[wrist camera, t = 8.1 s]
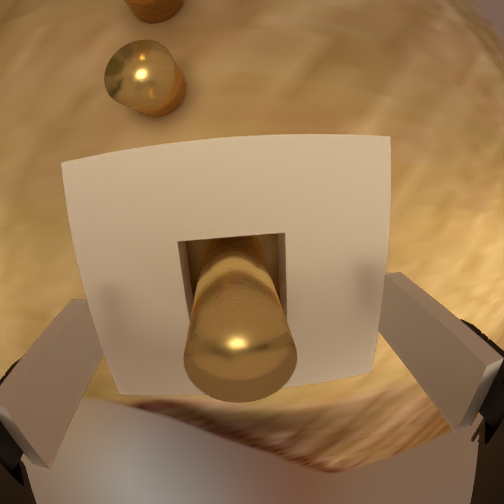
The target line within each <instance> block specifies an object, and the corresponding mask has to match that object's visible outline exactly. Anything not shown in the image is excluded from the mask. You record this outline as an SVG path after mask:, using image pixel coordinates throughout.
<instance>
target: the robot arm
mask: <svg viewBox="0 0 504 504" xmlns="http://www.w3.org/2000/svg"><path fill="white" fill-rule="evenodd" d="M378 331H379V332H380V333H381V335H382V336H383V337H384V339H385V340H386V341H387V342H388V344H389V345H390V346H391V348H392V349H393V350H394V351H395V353H396V354H397V355H398V357H399V358H400V359H401V360H402V362H403V363H404V364H405V366H406V367H407V368H408V370H409V371H410V372H411V374H412V375H413V376H414V378H415V379H416V380H417V382H418V383H419V384H420V386H421V387H422V388H423V390H424V391H425V392H426V394H427V395H428V396H429V398H430V399H431V401H432V402H433V403H434V405H435V406H436V407H437V409H438V410H439V412H440V413H441V414H442V416H443V417H444V419H445V420H446V421H447V423H448V424H449V426H450V427H451V429H452V430H453V431H454V433H456V432H458V431H460V430H462V429H464V428H466V427H468V426H470V425H472V423H473V421H474V420H475V418H476V416H477V414H478V412H480V414H481V415H482V416H483V417H484V418H483V419H482V422H481V423H480V425H479V426H478V428H477V430H476V432H475V433H474V435H473V436H472V439H471V441H474V440H475V439H476V437H477V435H478V434H479V440H478V442H479V446H478V457H477V466H476V473H475V480H474V486H473V492H472V498H471V503H470V504H504V351H503V350H502V349H501V348H500V347H498V346H497V345H496V344H495V343H494V342H493V341H492V340H490V339H488V337H487V336H486V335H485V334H483V333H481V331H480V330H479V329H477V328H476V327H475V326H474V325H473V324H470V323H468V322H466V321H464V320H462V319H458V318H457V317H456V316H455V315H454V314H452V313H451V312H450V311H449V310H447V309H446V308H445V307H444V306H443V305H441V304H440V303H439V302H438V301H436V300H435V299H434V298H433V297H431V296H430V295H429V294H428V293H426V292H425V291H424V290H423V289H421V288H420V287H419V286H417V285H416V284H415V283H414V282H412V281H411V280H410V279H408V278H407V277H406V276H404V275H403V274H402V273H401V272H396V273H389V274H385V277H384V287H383V296H382V304H381V311H380V319H379V325H378ZM103 355H104V352H103V349H102V346H101V343H100V340H99V337H98V334H97V331H96V328H95V325H94V322H93V318H92V315H91V312H90V308H89V305H88V301H87V299H73V300H71V301H70V302H69V303H68V305H67V306H66V307H65V308H64V309H63V310H62V311H61V312H60V313H59V315H58V316H57V317H56V318H55V319H54V320H53V321H52V322H51V324H50V325H49V326H48V327H47V328H46V329H45V331H44V332H43V333H42V334H41V335H40V336H39V338H38V339H37V340H36V341H35V342H34V344H33V345H32V346H31V347H30V348H29V350H28V351H27V352H26V353H25V355H24V356H23V357H22V358H21V359H19V360H18V361H17V362H15V363H14V364H13V365H12V366H11V367H10V368H9V369H8V371H7V372H6V373H5V376H3V377H2V378H1V380H0V504H36V501H35V498H34V495H33V492H32V489H31V485H30V482H29V479H28V475H27V471H26V467H25V465H24V464H23V462H22V461H21V460H20V459H21V457H22V454H23V453H24V454H25V455H26V456H27V458H28V459H29V460H30V461H31V462H32V464H35V465H38V466H41V467H45V468H49V469H50V468H51V466H52V463H53V461H54V459H55V456H56V454H57V451H58V449H59V447H60V444H61V442H62V440H63V437H64V435H65V433H66V431H67V428H68V426H69V424H70V422H71V420H72V417H73V415H74V413H75V411H76V409H77V407H78V404H79V402H80V400H81V398H82V396H83V394H84V392H85V390H86V388H87V386H88V384H89V382H90V380H91V378H92V376H93V374H94V372H95V370H96V368H97V366H98V364H99V362H100V360H101V358H102V356H103Z"/></svg>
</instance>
